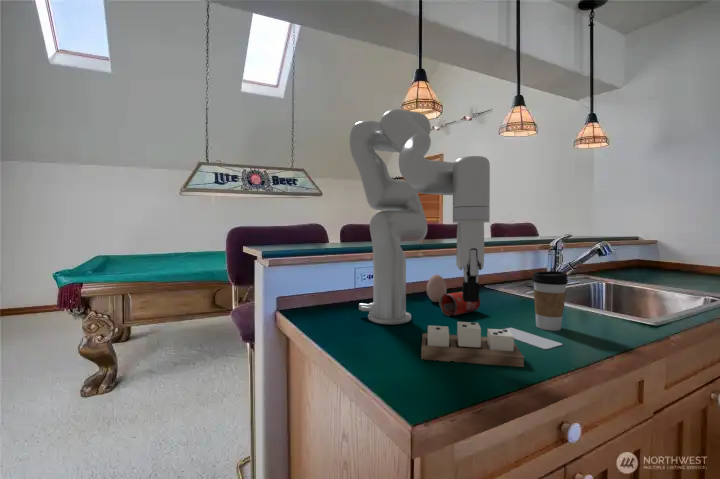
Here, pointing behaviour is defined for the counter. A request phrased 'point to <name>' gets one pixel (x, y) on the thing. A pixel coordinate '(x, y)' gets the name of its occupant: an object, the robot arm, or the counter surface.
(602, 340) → the counter surface
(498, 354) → the board
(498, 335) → the white die
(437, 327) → the white die
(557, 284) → the coffee cup
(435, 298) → the egg
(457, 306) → the beverage can
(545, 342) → the smartphone
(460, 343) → the white die
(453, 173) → the robot arm
